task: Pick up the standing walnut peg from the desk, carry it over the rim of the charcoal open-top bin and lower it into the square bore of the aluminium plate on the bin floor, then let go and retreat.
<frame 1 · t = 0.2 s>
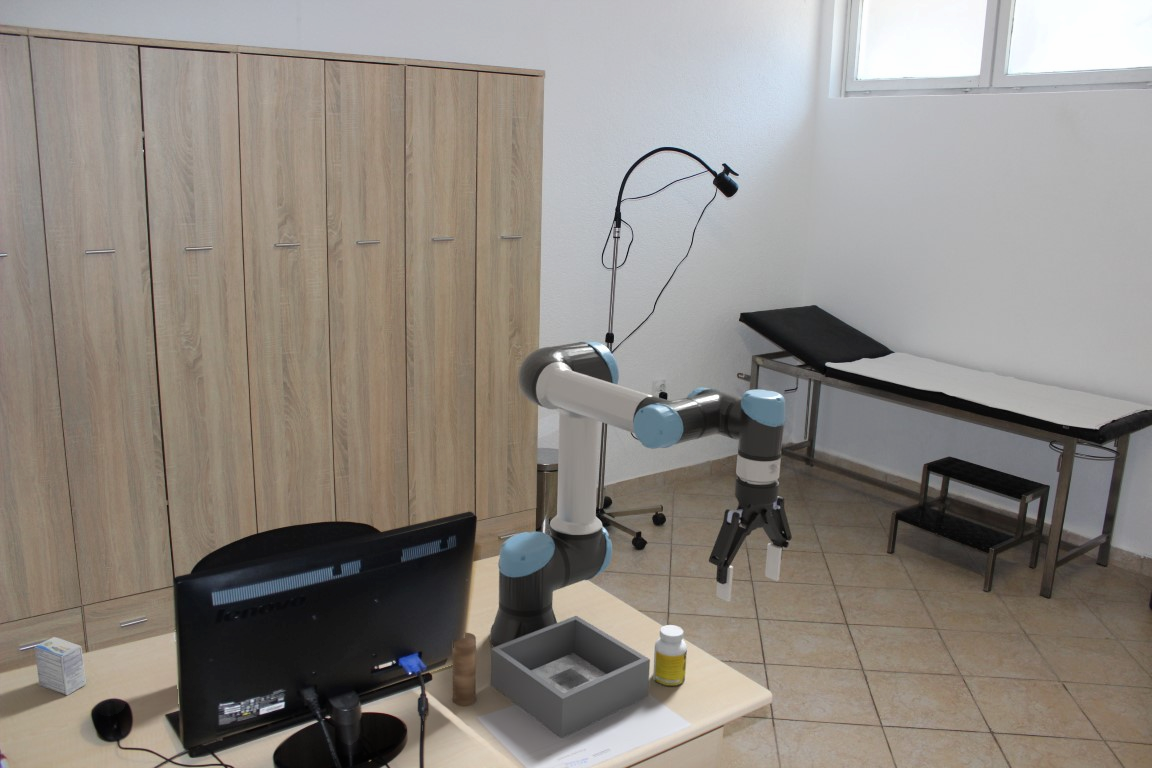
hand: (748, 588, 170), 28 cm above the table, fingers open, 13 cm apart
medicine box: (62, 686, 182), on the table
walnut peg: (464, 704, 180), on the table
plastic cup: (206, 684, 184), on the table
open box: (568, 694, 184), on the table
bore plate: (568, 690, 184), resting on open box
pill bottle: (668, 683, 190), on the table
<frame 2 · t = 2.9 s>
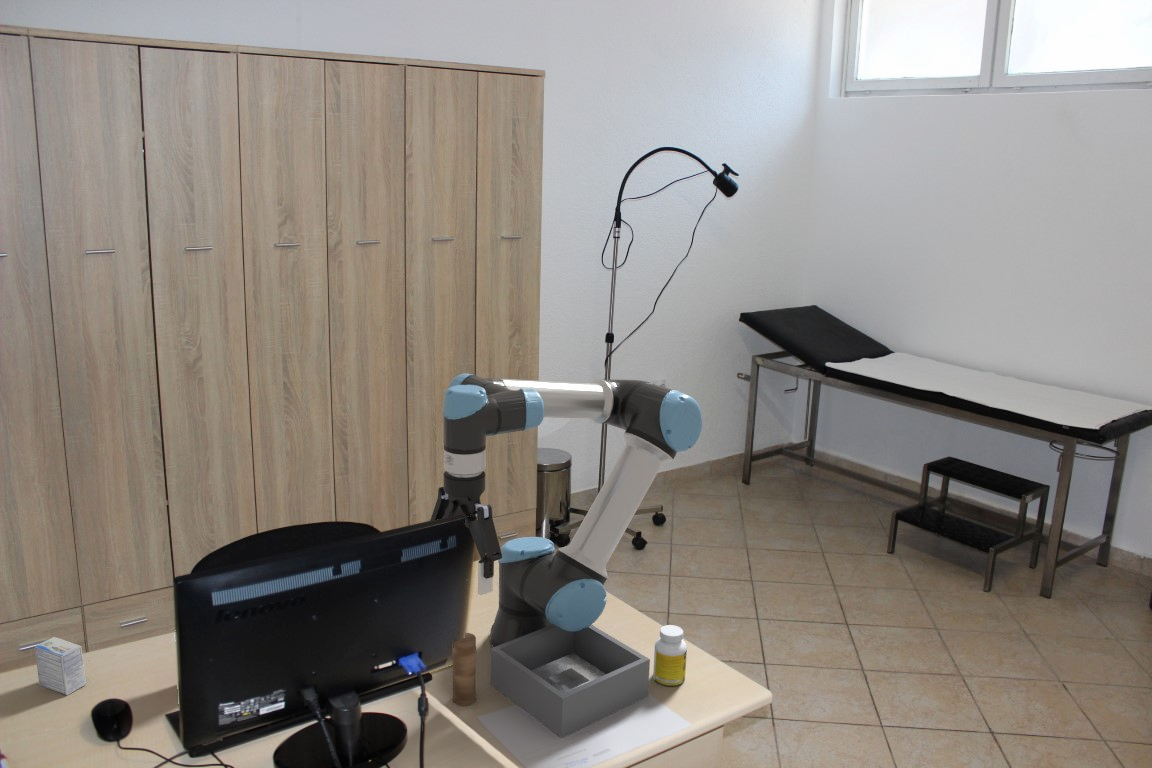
hand: (464, 579, 174), 26 cm above the table, fingers open, 13 cm apart
nothing on the table moved.
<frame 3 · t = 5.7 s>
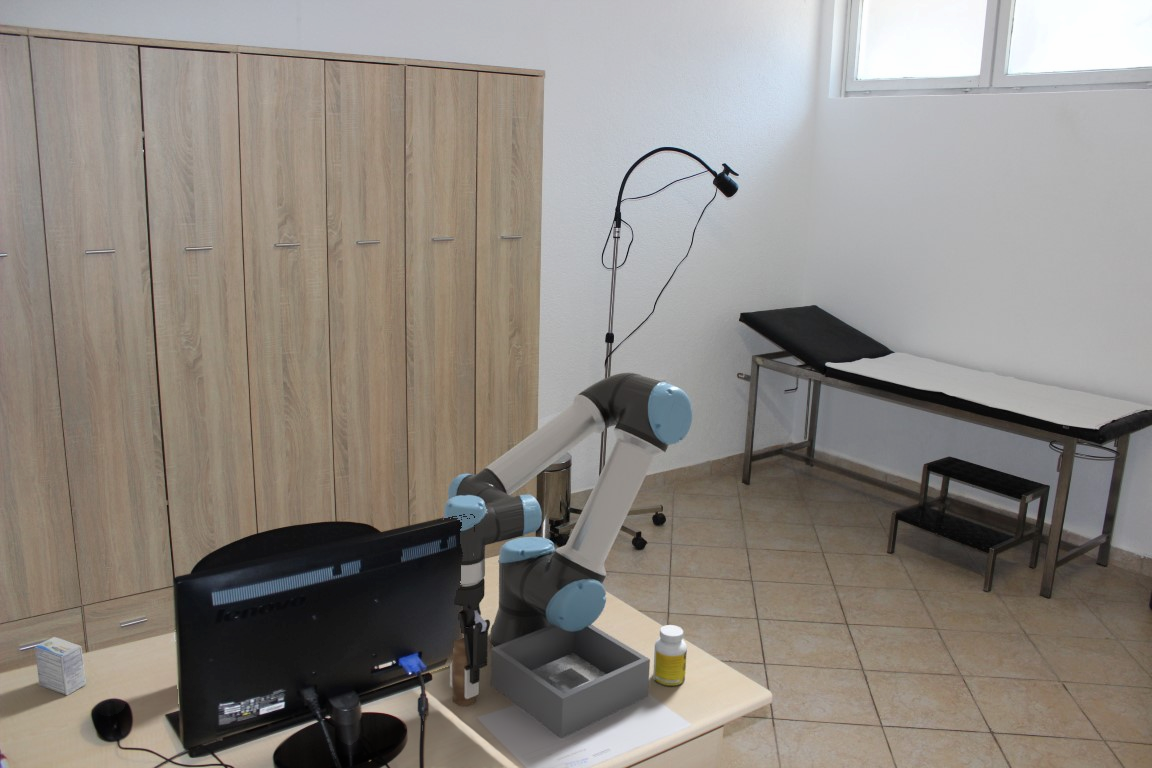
hand: (464, 689, 179), 3 cm above the table, fingers closed on walnut peg, 4 cm apart
walnut peg: (464, 703, 180), on the table, touching gripper
everything else where it was.
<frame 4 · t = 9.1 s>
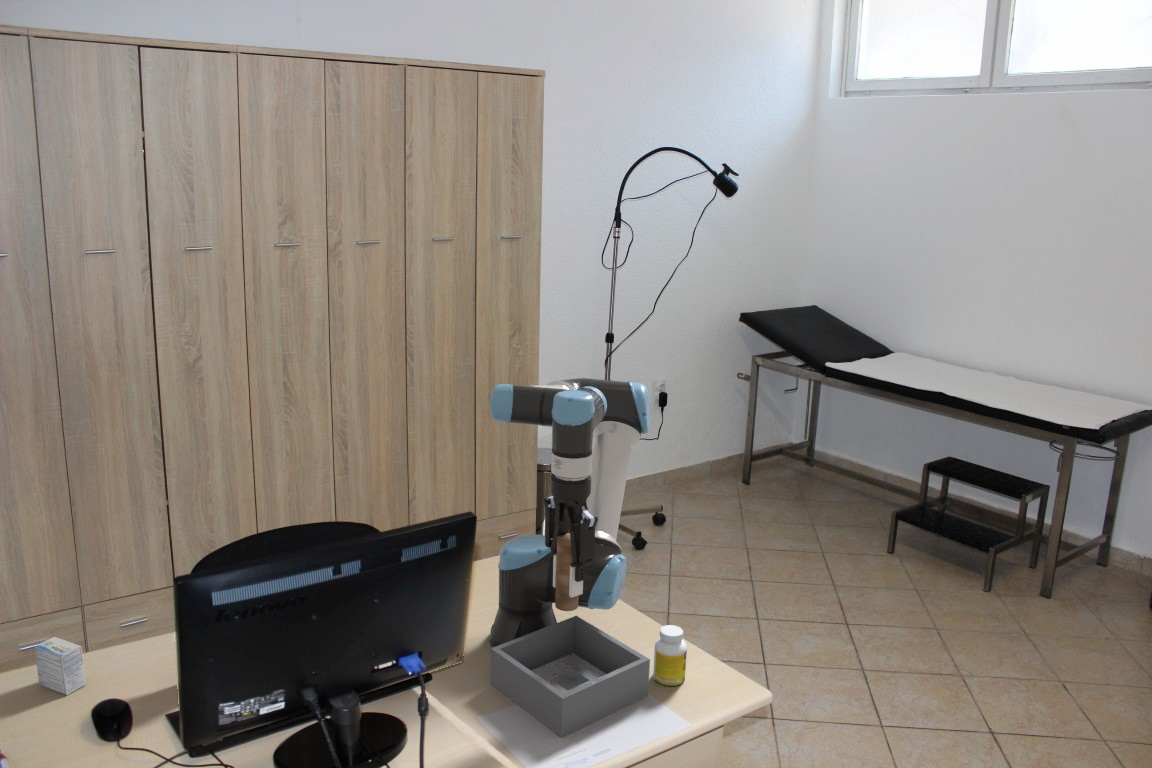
hand: (567, 589, 178), 23 cm above the table, fingers closed on walnut peg, 4 cm apart
walnut peg: (566, 605, 179), point 19 cm above the table, touching gripper
everything else where it was.
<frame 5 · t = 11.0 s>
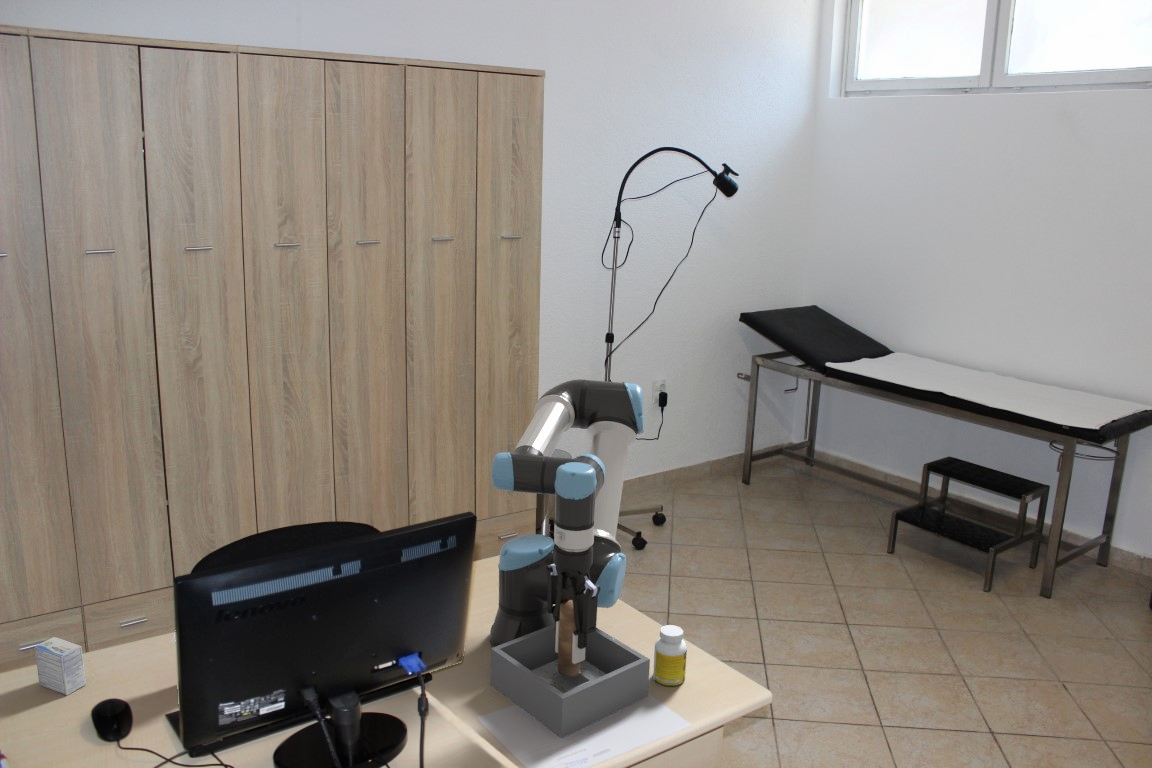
hand: (570, 655, 182), 9 cm above the table, fingers closed on walnut peg, 4 cm apart
walnut peg: (569, 670, 183), point 5 cm above the table, touching gripper
everything else where it was.
when the fingers open (6 cm above the table, at t = 12.6 s): walnut peg drops 1 cm, resting on open box.
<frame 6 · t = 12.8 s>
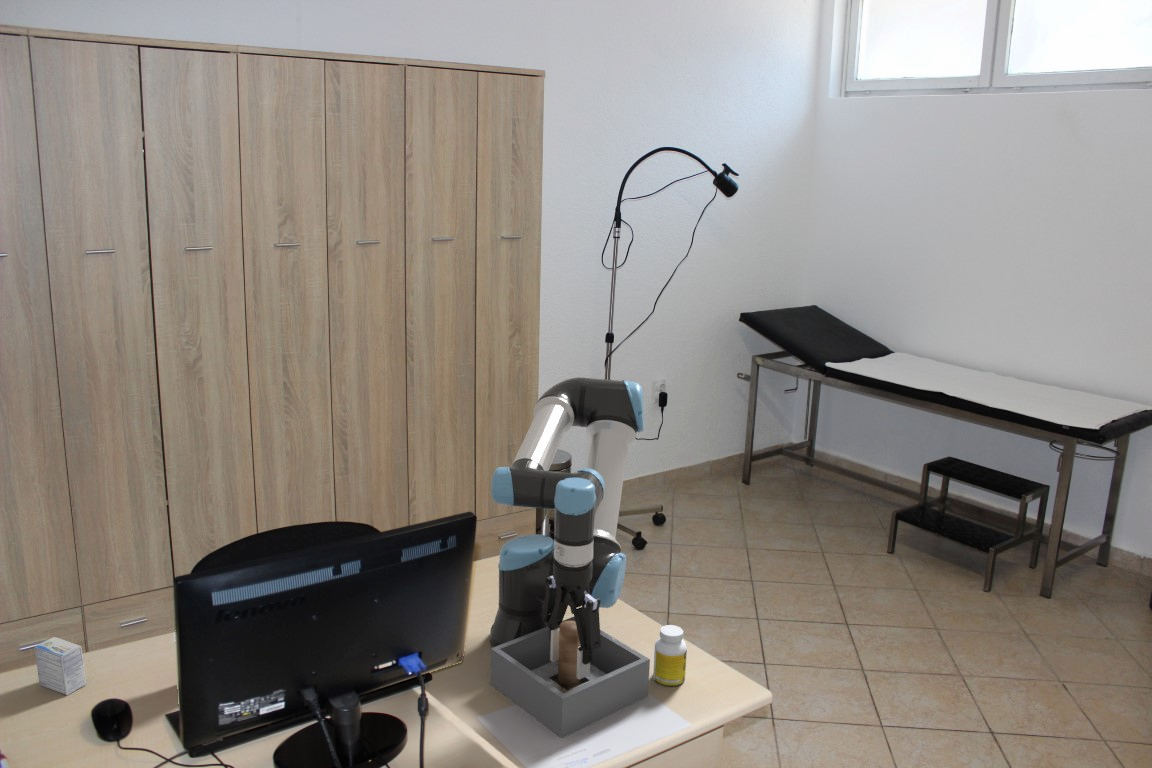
hand: (569, 667, 183), 6 cm above the table, fingers open, 7 cm apart
walnut peg: (568, 690, 184), point 1 cm above the table, touching open box
everything else where it was.
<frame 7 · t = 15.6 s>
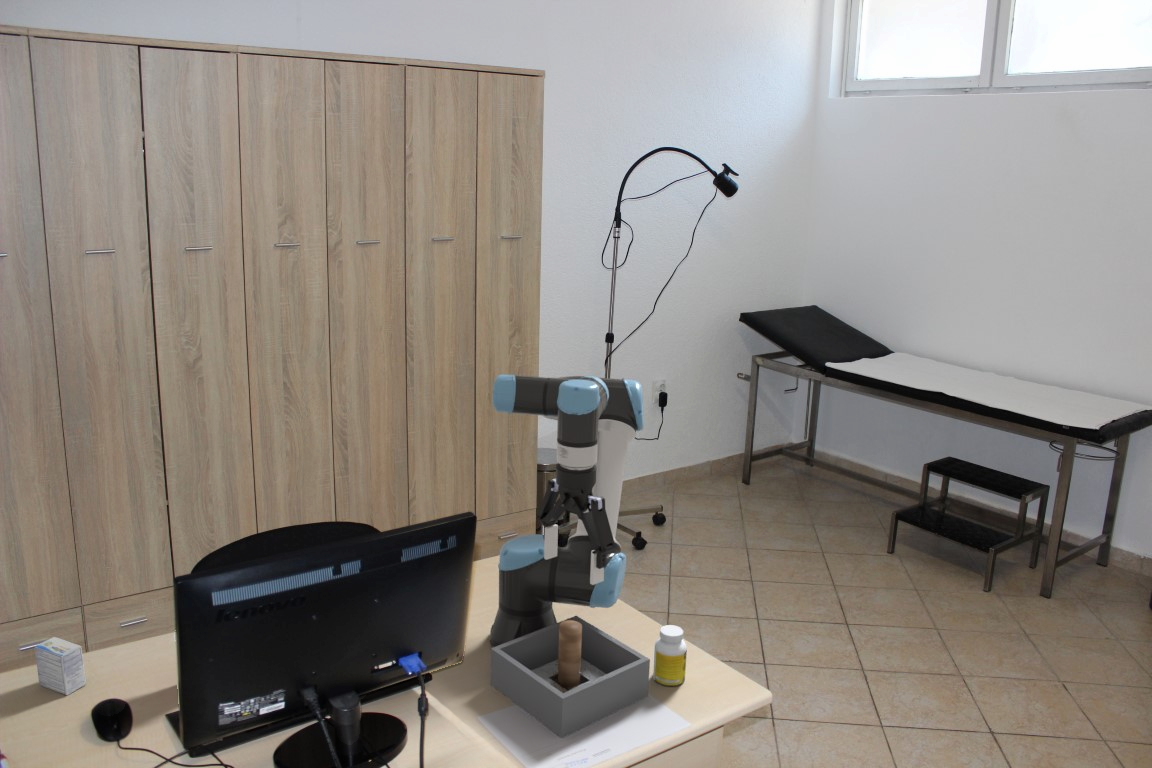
hand: (573, 569, 178), 27 cm above the table, fingers open, 13 cm apart
nothing on the table moved.
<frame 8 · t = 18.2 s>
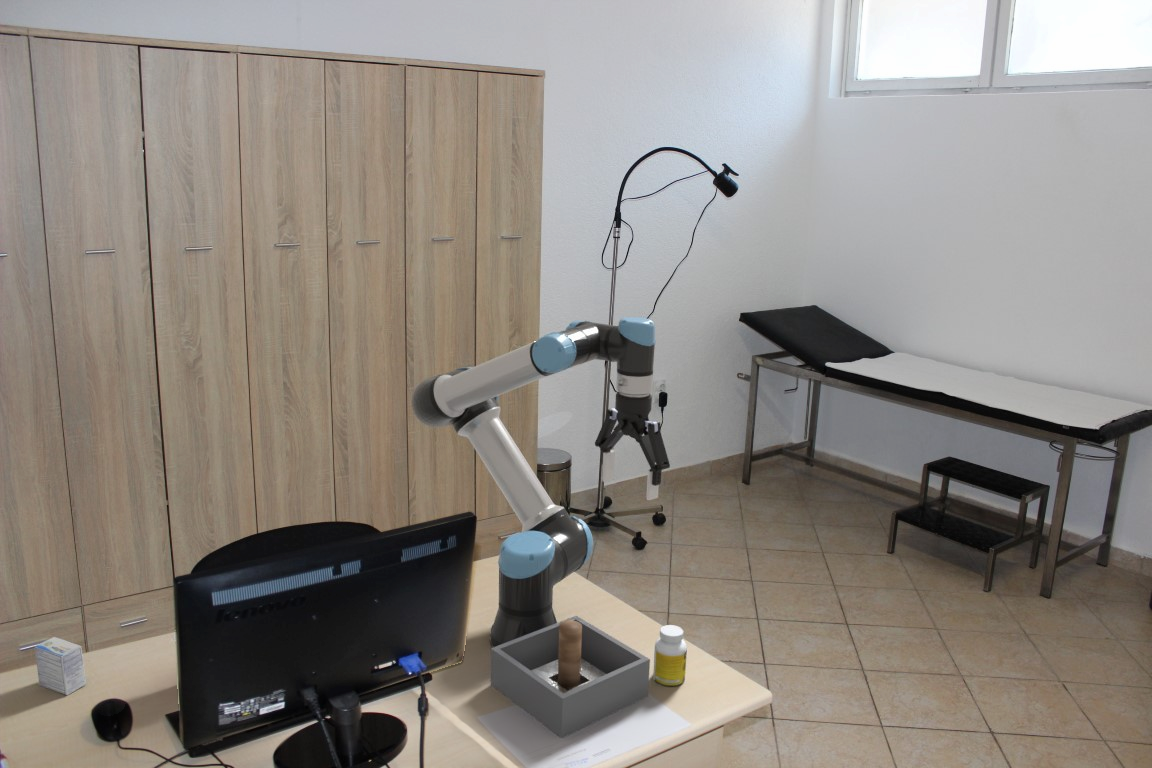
hand: (629, 489, 198), 35 cm above the table, fingers open, 13 cm apart
nothing on the table moved.
at the end: walnut peg 0.1 cm off-centre on the open box, point 1.0 cm above the open box's base; walnut peg tilted 0°; the gripper is holding nothing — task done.
